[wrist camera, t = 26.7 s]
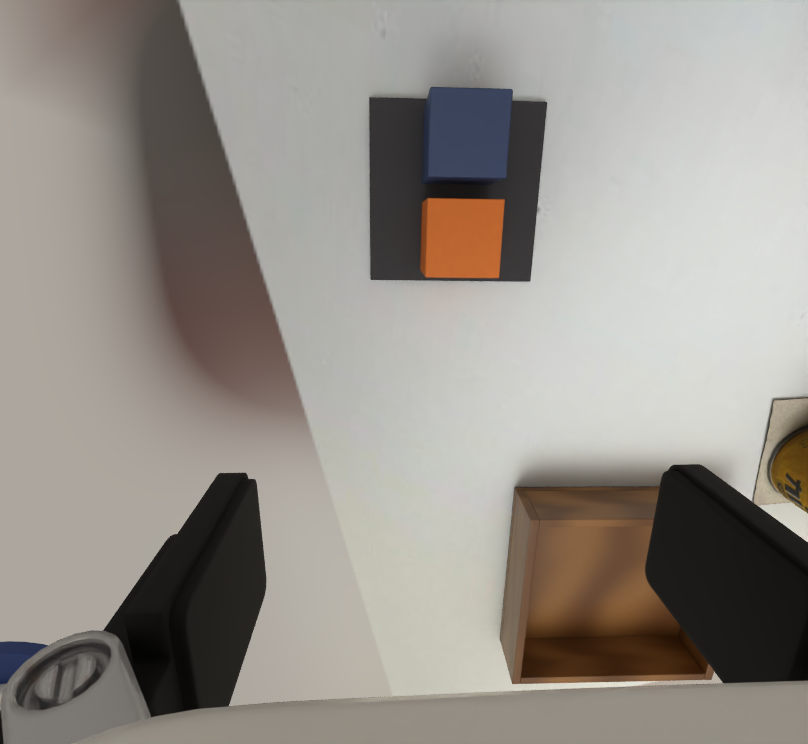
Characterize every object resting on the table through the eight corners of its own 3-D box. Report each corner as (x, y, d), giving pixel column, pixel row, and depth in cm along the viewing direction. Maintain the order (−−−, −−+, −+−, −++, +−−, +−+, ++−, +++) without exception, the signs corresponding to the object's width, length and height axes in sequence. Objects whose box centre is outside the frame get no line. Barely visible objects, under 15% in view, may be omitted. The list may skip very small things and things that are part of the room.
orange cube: (420, 270, 29) (425, 277, 25) (421, 202, 27) (427, 197, 24) (484, 271, 29) (499, 278, 25) (488, 203, 28) (505, 199, 24)
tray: (499, 638, 38) (512, 684, 34) (514, 487, 34) (530, 520, 30) (679, 635, 39) (711, 680, 35) (716, 485, 34) (757, 518, 31)
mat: (370, 279, 29) (370, 279, 29) (369, 98, 26) (369, 97, 26) (528, 280, 29) (530, 281, 29) (545, 103, 26) (547, 101, 26)
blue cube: (422, 183, 27) (427, 176, 23) (423, 107, 26) (430, 86, 22) (489, 185, 27) (506, 178, 23) (494, 108, 26) (513, 88, 22)
